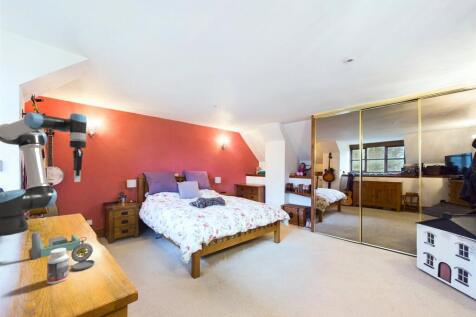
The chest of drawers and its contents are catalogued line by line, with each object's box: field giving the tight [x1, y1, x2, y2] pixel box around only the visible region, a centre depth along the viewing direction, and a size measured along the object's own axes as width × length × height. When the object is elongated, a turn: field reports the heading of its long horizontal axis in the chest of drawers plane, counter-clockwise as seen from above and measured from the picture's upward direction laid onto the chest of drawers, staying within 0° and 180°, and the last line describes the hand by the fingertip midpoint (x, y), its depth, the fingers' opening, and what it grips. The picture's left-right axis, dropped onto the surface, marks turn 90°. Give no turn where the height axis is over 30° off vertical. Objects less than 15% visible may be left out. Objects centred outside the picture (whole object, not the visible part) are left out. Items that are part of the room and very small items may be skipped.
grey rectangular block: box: [48, 235, 68, 247], centre depth 96 cm, size 7×5×4 cm
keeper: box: [31, 230, 81, 260], centre depth 94 cm, size 15×16×10 cm
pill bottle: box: [46, 248, 70, 285], centre depth 68 cm, size 5×5×10 cm
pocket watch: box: [70, 236, 95, 271], centre depth 78 cm, size 8×8×10 cm
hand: (77, 181), depth 119 cm, fingers closed
